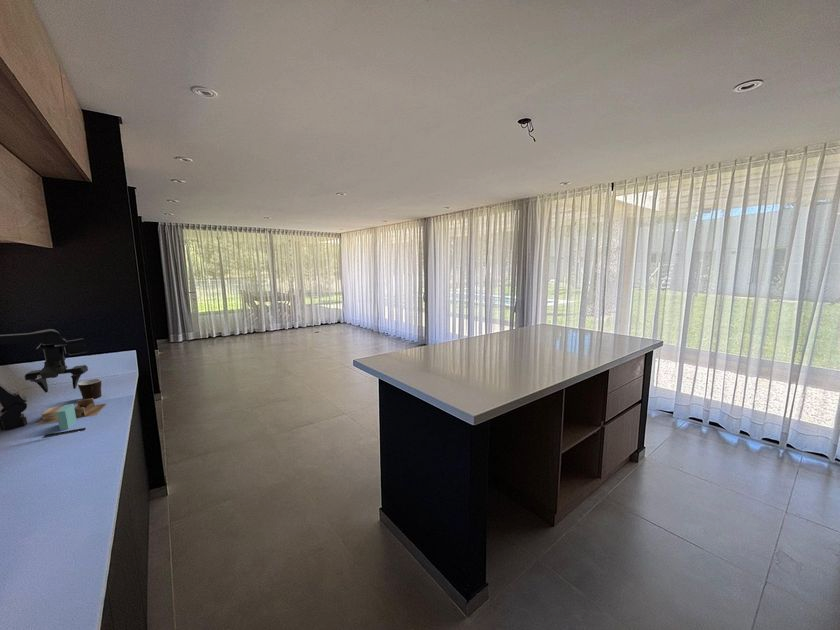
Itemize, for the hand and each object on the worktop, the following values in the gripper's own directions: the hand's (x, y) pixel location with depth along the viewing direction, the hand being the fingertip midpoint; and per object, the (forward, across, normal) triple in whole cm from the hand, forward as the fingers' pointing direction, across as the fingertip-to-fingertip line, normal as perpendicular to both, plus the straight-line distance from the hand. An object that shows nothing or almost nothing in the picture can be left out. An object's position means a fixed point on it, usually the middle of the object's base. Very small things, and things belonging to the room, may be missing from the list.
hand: (60, 390), depth 151 cm
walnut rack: (+13, +3, -1) cm, 13 cm away
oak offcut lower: (+12, -3, -1) cm, 12 cm away
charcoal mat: (+13, +6, -15) cm, 21 cm away
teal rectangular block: (+12, +6, -15) cm, 20 cm away
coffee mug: (+13, +4, +17) cm, 22 cm away
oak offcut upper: (+10, -3, -1) cm, 11 cm away
